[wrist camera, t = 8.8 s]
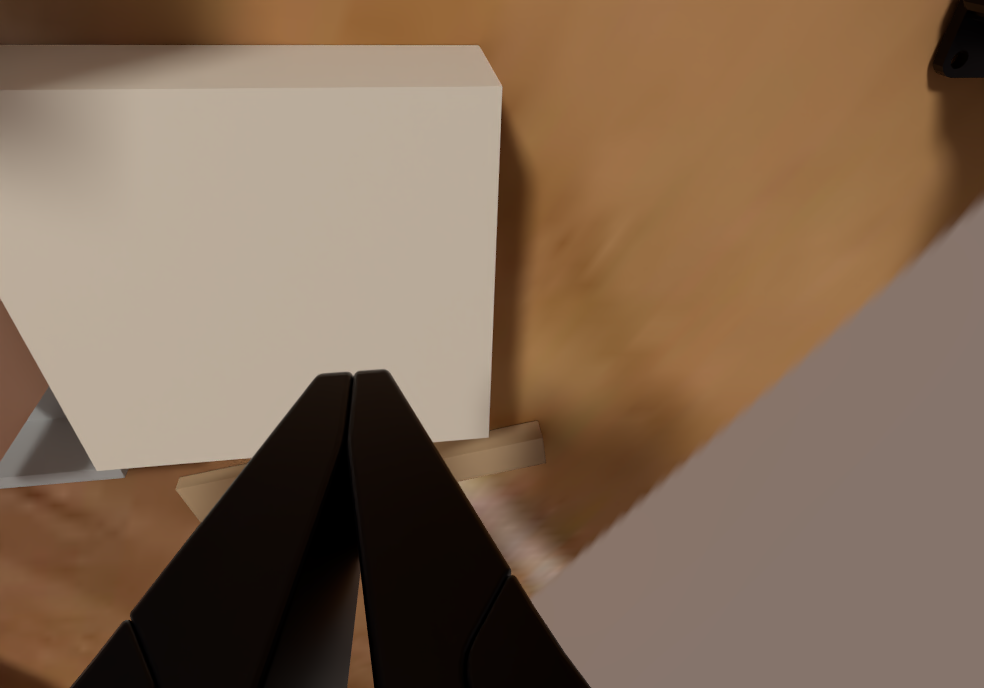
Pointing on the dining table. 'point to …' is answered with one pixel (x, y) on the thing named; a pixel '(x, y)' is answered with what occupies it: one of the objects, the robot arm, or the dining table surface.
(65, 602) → the dining table surface
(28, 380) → the tile
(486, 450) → the wooden spatula
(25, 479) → the tray
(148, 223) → the white flat box
